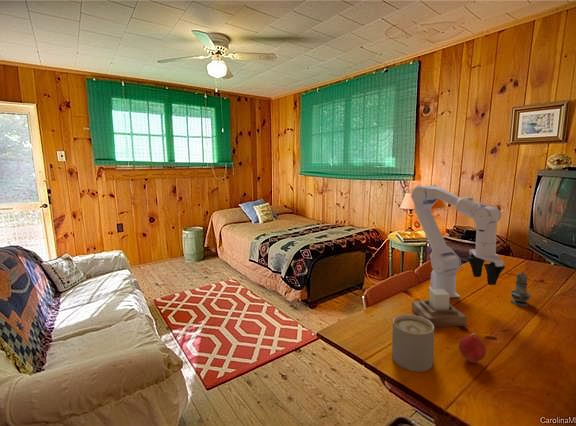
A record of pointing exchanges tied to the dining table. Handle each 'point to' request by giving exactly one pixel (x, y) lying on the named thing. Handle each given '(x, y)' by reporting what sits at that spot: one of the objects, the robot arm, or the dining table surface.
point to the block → (439, 299)
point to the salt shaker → (520, 291)
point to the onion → (472, 348)
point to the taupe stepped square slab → (439, 314)
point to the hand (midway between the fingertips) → (484, 280)
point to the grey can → (413, 342)
